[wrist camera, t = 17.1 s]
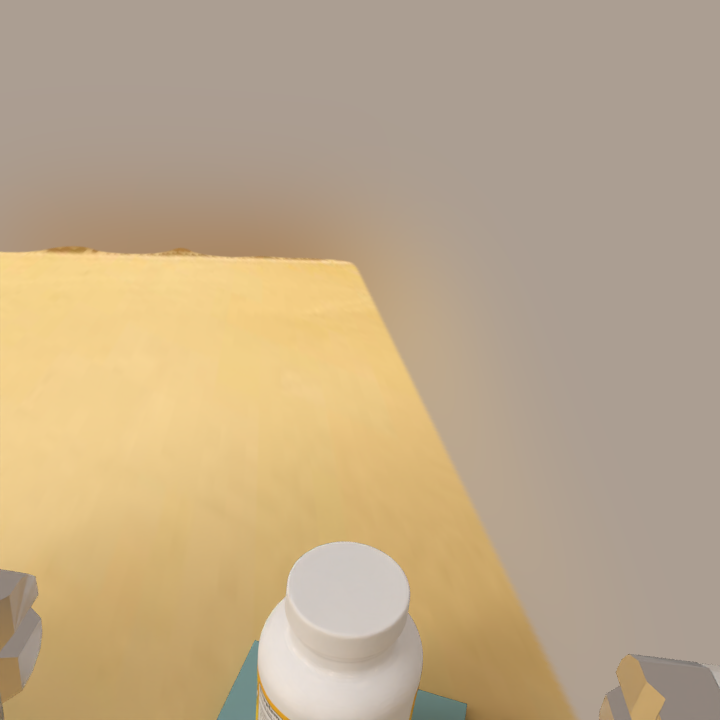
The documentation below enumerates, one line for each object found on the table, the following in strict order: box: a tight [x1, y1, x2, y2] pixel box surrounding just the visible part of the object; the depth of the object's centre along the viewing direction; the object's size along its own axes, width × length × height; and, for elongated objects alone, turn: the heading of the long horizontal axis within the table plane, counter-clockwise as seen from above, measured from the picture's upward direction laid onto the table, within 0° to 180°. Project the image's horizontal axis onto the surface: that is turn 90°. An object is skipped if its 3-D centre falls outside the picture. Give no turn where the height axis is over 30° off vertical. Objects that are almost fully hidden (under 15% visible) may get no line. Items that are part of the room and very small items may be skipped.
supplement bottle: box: [256, 542, 423, 720], centre depth 28 cm, size 7×7×13 cm
